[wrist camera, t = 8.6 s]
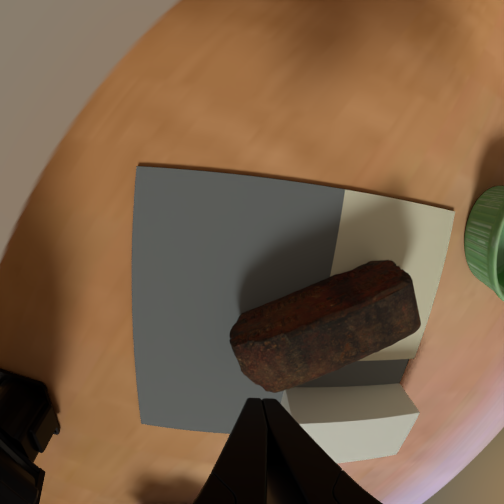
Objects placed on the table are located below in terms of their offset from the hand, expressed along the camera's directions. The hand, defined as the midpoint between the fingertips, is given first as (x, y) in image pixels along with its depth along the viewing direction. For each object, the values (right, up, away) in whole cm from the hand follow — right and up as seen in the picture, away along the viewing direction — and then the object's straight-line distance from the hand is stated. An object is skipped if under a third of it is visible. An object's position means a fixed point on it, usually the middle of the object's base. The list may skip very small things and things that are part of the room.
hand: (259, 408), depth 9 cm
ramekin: (+20, +6, +12) cm, 24 cm away
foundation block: (+7, -8, +15) cm, 18 cm away
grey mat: (+2, -1, +13) cm, 13 cm away
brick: (+4, +1, +12) cm, 13 cm away
